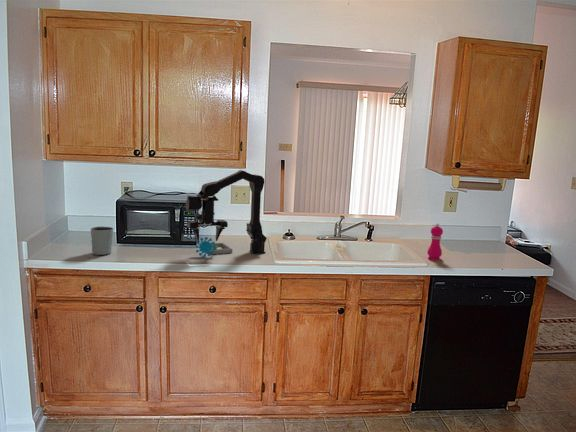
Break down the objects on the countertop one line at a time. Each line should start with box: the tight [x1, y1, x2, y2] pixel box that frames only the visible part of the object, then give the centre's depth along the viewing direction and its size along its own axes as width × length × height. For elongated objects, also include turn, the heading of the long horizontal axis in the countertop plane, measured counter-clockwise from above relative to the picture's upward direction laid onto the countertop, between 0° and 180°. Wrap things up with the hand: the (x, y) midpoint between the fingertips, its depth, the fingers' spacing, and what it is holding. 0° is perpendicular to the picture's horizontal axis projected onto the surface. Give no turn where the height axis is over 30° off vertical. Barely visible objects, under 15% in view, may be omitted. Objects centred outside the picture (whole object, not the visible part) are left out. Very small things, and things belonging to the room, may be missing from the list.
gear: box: [195, 236, 219, 258], centre depth 238 cm, size 11×6×10 cm, turn 87°
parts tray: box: [210, 242, 233, 256], centre depth 249 cm, size 11×15×2 cm
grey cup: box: [90, 226, 114, 256], centre depth 232 cm, size 10×10×12 cm
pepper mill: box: [427, 223, 444, 261], centre depth 250 cm, size 7×7×20 cm
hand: (207, 241), depth 235 cm, fingers open, 9 cm apart
